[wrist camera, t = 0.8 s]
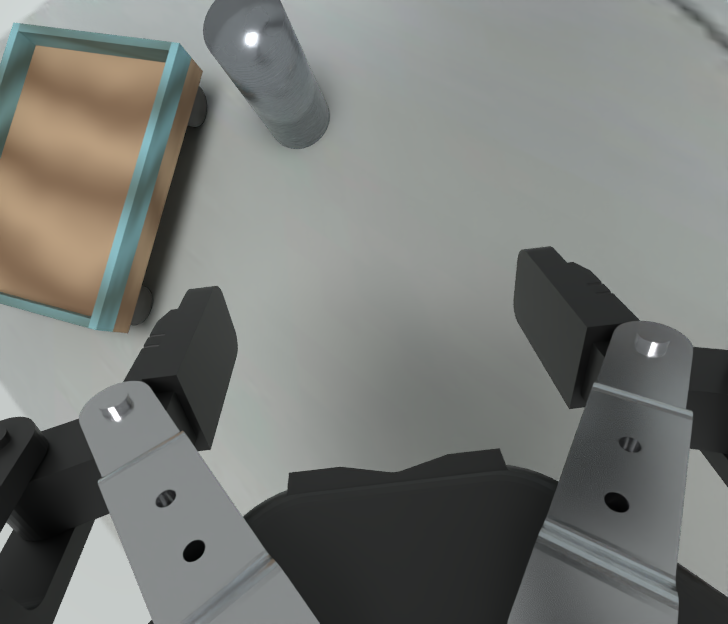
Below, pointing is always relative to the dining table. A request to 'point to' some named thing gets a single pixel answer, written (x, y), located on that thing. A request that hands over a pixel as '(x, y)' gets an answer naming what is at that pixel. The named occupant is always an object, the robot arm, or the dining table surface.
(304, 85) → the metal part
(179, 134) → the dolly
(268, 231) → the dining table surface
